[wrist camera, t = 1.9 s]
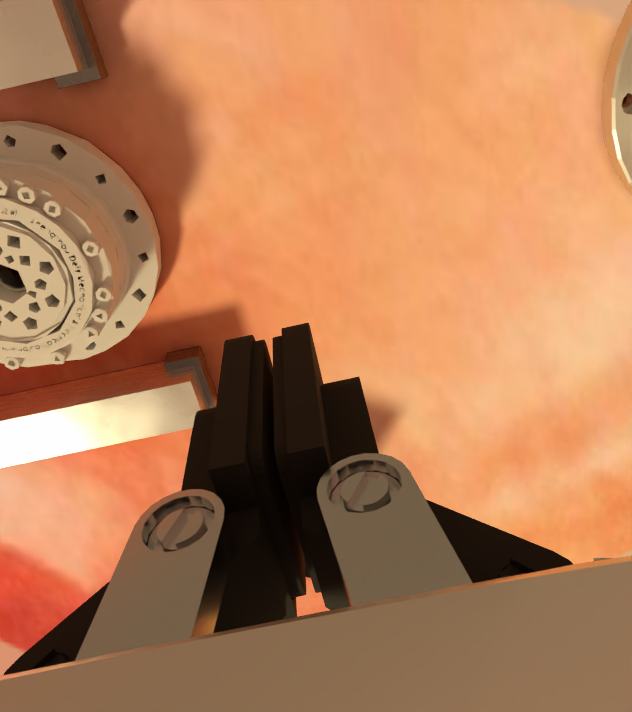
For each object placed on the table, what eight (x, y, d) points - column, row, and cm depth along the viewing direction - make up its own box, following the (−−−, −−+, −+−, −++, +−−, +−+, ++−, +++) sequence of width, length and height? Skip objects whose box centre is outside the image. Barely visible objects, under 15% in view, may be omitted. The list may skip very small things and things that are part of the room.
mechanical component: (195, 183, 25) (-64, 71, 22) (181, 214, 21) (-133, 84, 18) (125, 375, 29) (-100, 300, 26) (103, 430, 25) (-163, 348, 23)
